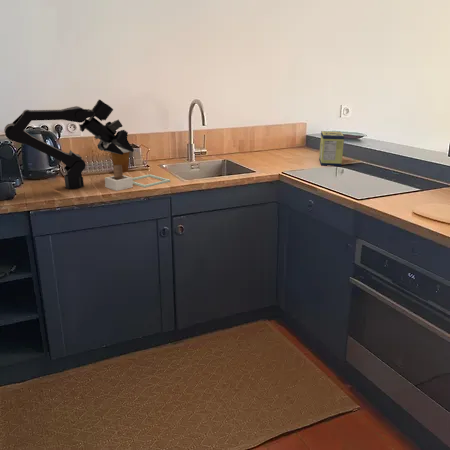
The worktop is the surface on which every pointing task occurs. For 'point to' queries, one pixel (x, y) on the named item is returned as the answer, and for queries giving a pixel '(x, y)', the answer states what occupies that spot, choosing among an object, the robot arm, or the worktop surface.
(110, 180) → the box
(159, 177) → the pale green square frame
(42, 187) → the worktop surface
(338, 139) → the protein box
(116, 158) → the disposable coffee cup
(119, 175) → the walnut pin
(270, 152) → the worktop surface
